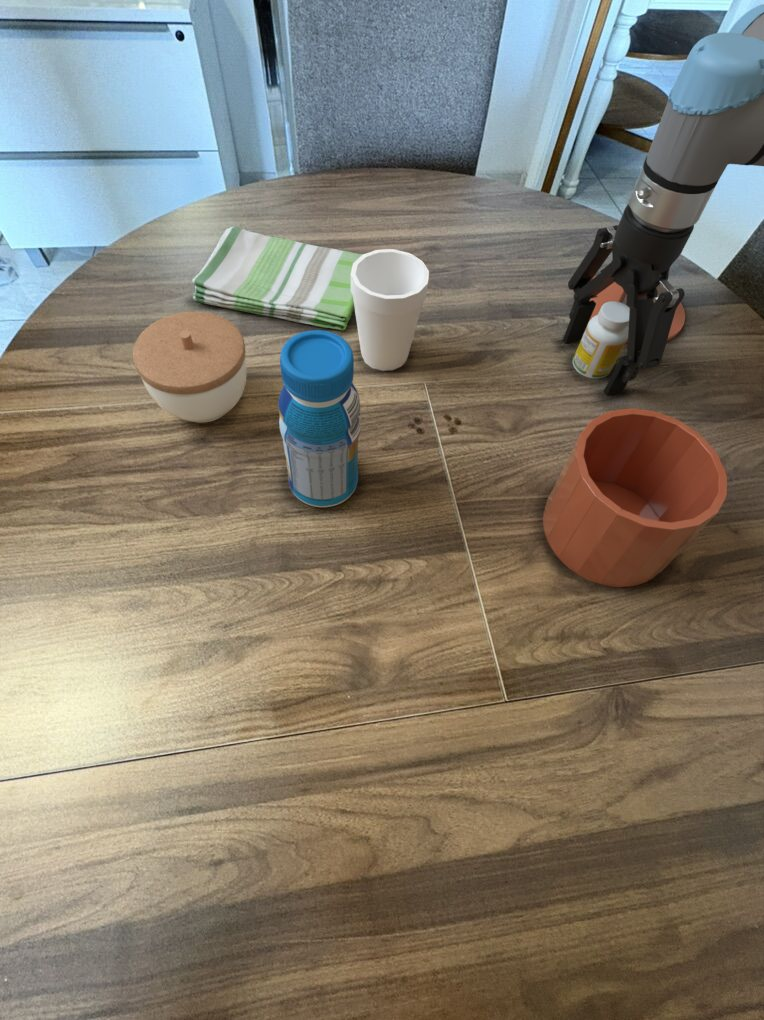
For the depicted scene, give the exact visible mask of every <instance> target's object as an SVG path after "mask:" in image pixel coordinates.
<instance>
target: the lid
mask: <svg viewBox="0 0 764 1020" xmlns="http://www.w3.org/2000/svg"><path fill="white" fill-rule="evenodd" d="M596 276H597V275H595V276H594V277H593V279H594V278H595V277H596ZM646 295H647V293H646V294H643V295H640V296H638V298H641V297H645V296H646ZM596 296H598V297H595V298H591V299H590V301H592V300H594V302H595V303H596V306H595V308H594V311H593V313H592V315H591V318H590V320H591V319H592V318H593V317H594V316H596V315H598V313H599V311H600V309H601V307H602V305H603V304H605V303H607V302H611V301H615V302H620V303H623V304H625V305H627V294H626V293H625V292H624V290H623V288H622V287H621V286H619V285H618V284H617V283H616V282H614V283H612V284H611V285H610V286H608V287H607V288H606V289H604V290H603V291H602V292H600V293H599V294H598V295H596ZM590 320H589V321H590ZM685 321H686V312H685V309H684V306H683V303H682V301H681V302H680V304H679V305H678V307H677V308H676V311H675V314H674V318H673V321H672V325H671V328H670V332H669V335H668V339H667V342H668V341H670V340H672V339H673V338H675V337H676V336H677V335H678V334H679V333H680V332H681V330H682V328H683V327H684V324H685ZM588 323H589V322H588ZM628 327H629V325H628ZM625 344H628V339H627V341H626V343H625Z"/></svg>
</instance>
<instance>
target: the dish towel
mask: <svg viewBox="0 0 764 1020" xmlns="http://www.w3.org/2000/svg"><path fill="white" fill-rule="evenodd" d="M362 255H363V254H362V253H356V252H352V251H347V250H340V249H336V248H332V247H327V246H320V245H314V244H309V243H304V242H300V241H296V240H293V239H288V238H283V237H276V236H269V235H265V234H262V233H258V232H253V231H250V230H247V229H244V228H242V227H238V226H236V225H235V226H231V227H227V228H226V229H225V230H224V232H223V233H222V236H221V237H220V238H219V240H218V242H217V245H216V246H215V248H214V249H213V251H212V253H211V254H210V256H209V257H208V259H207V261H206V263H205V264H204V266H203V267H202V268H201V270H200V271H199V272H198V273H197V274H196V275H195V276H194V277H193V278H192V279H191V282H192V285H195V286H194V289H195V290H194V293H192V300H194V301H195V302H198V303H201V304H205V305H210V306H214V307H215V306H216V307H221V308H225V309H231V310H233V311H240V312H245V313H249V314H254V315H259V316H266V317H272V318H277V319H281V320H285V321H290V322H294V323H299V324H304V325H311V326H314V327H318V328H319V327H320V328H324V329H332V330H339V331H344V330H346V328H347V326H348V323H349V322H350V319H352V318H351V317H352V315H353V312H354V310H355V307H354V300H353V295H352V293H351V270H352V266H353V263H354V262H355V261H356V260H357V259H358V258H359V257H361V256H362Z"/></svg>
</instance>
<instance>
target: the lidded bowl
mask: <svg viewBox="0 0 764 1020" xmlns="http://www.w3.org/2000/svg"><path fill="white" fill-rule="evenodd" d="M246 356H247V355H246V343H245V339H244V337H243V334H242V332H241V331H240V329H239V328H238V327H237V326H236V325H235V324H234V323H233V322H232V321H230V320H229V319H227V318H225V317H223V316H220V315H217V314H215V313H211V312H205V311H183V312H178V313H174V314H170V315H167V316H165V317H162V318H160V319H158V320H156V321H154V322H153V323H151V324H149V326H147V327H145V329H144V330H143V331H142V332H141V333H140V334H139V336H138V337H137V339H136V340H135V342H134V344H133V348H132V361H133V362H132V363H133V365H134V367H135V370H136V372H137V374H138V375H139V377H140V379H141V381H142V383H143V385H144V387H145V389H146V391H147V392H148V394H149V396H150V397H151V398H152V400H153V401H154V402H155V403H156V405H157V406H159V407H160V408H161V409H162V410H163V411H164V412H166V413H167V414H168V415H170V416H173V417H175V418H177V419H179V420H182V421H186V422H192V423H198V424H199V423H201V424H204V423H209V422H213V421H217V420H218V419H221V418H222V417H224V416H225V415H226V414H227V413H229V412H230V411H231V410H232V409H233V408H234V407H236V405H237V403H239V401H240V400H241V398H242V396H243V393H244V391H245V387H246V384H247V377H248V367H247V366H248V364H247V357H246Z"/></svg>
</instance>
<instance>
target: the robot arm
mask: <svg viewBox="0 0 764 1020" xmlns="http://www.w3.org/2000/svg"><path fill="white" fill-rule="evenodd" d="M652 139H653V140H652V142H651V144H650V147H649V150H648V152H647V154H646V157H645V158H644V161H643V164H642V167H641V169H640V171H639V174H638V177H637V179H636V181H635V184H634V187H633V189H632V192H631V194H630V197H629V198H628V204H627V205H626V206H625V208H624V210H623V213H622V214H621V218H620V220H619V223H618V224H615V225H610V226H606V227H602V228H601V227H600V228H598V229H597V231H596V234H595V237H594V240H593V244H592V245H591V247H590V249H589V250H588V252H587V253H586V255H585V256H584V257H583V259H582V261H581V262H580V264H579V266H578V267H577V269H576V270H575V271H574V273H573V274H572V276H571V278H570V279H569V280H568V283H567V288H568V289H569V290H570V291H573V300H574V301H573V304H572V306H571V309H570V311H569V316H568V317H569V323H568V325H567V326H566V327H567V328H566V330H565V333H564V335H563V337H562V340H561V341H562V342H563V344H565V345H566V344H570V343H574V342H578V341H581V339H582V337H583V334H584V332H585V330H586V327H587V325H588V322H589V320H590V318H591V315H592V313H593V311H594V308H595V306H596V303H595V302H594V300H592V301H590V299H591V298H595V297H598V296H596V295H598V294H599V293H600V292H602V291H603V290H604V289H606V288H607V287H608V286H610V285H611V284H612V283H614V282H616V283H617V284H618V285H619V286H621V287H622V288H623V290H624V292H625V293H626V294H627V306H628V307H629V308H630V312H629V330H628V343H627V347H626V349H627V351H626V355H622V356H620V358H619V360H618V362H617V364H616V366H615V368H614V370H613V372H612V373H611V376H610V377H609V380H608V382H607V384H606V386H605V388H604V390H603V393H604V394H605V396H610V395H613V394H616V393H620V392H623V391H625V388H626V386H627V385H628V384H629V382H631V381H633V380H635V379H636V378H637V376H638V374H639V372H640V371H644V370H647V369H651V368H654V367H657V366H660V365H661V363H662V360H663V356H664V353H665V349H666V346H667V342H668V341H667V339H668V335H669V332H670V328H671V325H672V321H673V318H674V314H675V311H676V308H677V307H678V305H679V304H680V302H681V303H682V301H683V299H685V294H686V293H685V290H684V288H682V287H680V288H674V286H673V285H672V284H671V283H670V282H669V277H670V276H669V275H670V269H671V267H672V265H673V264H674V263H675V262H676V261H677V260H678V258H679V257H680V256H681V254H682V253H683V250H684V248H685V247H686V245H687V243H688V241H689V239H690V237H691V235H692V233H693V232H694V228H695V225H696V224H697V223H698V222H699V221H700V218H701V217H702V215H703V212H704V210H705V208H706V206H707V204H708V203H709V201H710V199H711V197H712V195H713V192H714V191H715V188H716V187H717V186H718V182H719V181H720V179H721V177H722V176H723V173H724V172H725V170H726V169H727V167H728V165H738V166H755V167H764V3H763V4H759V5H756V6H754V7H753V8H751V9H749V10H748V11H746V12H745V13H744V14H743V15H742V16H740V17H739V18H738V20H737V21H735V23H734V24H733V26H732V27H731V28H730V29H729V31H728V32H716V33H712V34H709V35H706V36H704V37H702V38H701V39H700V40H698V41H697V42H696V43H695V44H694V45H693V46H692V48H691V50H690V52H689V53H688V56H687V58H686V59H685V61H684V63H683V65H682V66H681V69H680V71H679V73H678V76H677V78H676V80H675V82H674V85H673V86H672V87H671V89H670V91H669V95H668V97H667V102H666V105H665V108H664V111H663V113H662V115H661V118H660V122H659V123H658V126H657V128H656V131H655V134H654V136H653V138H652ZM610 255H611V256H612V260H611V262H609V263H608V264H607V265H606V266H605V267H603V268H602V269H601V267H602V266H603V264H604V263H605V261H606V260H607V259H608V258H609V256H610ZM600 269H601V270H600ZM599 270H600V273H598V271H599ZM597 273H598V274H597ZM596 274H597V275H596ZM595 276H596V277H595ZM593 277H595V278H594V279H593ZM646 293H647V295H646V296H645V297H641V298H638V296H640V295H643V294H646Z"/></svg>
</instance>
